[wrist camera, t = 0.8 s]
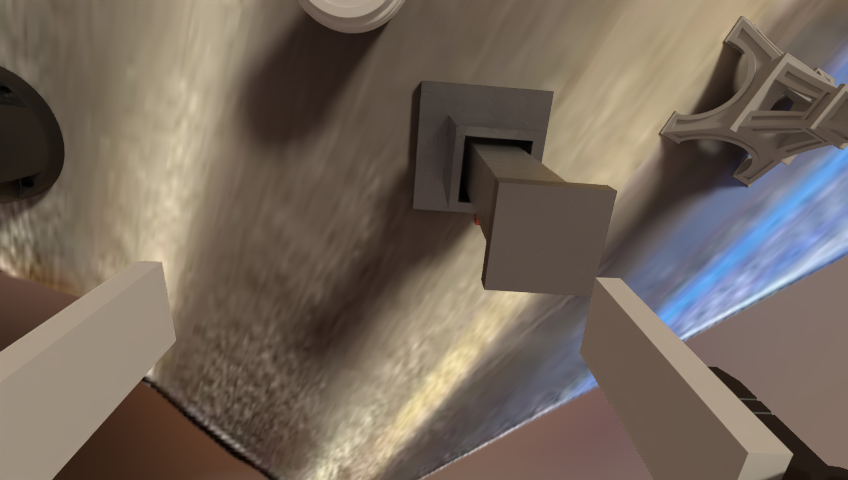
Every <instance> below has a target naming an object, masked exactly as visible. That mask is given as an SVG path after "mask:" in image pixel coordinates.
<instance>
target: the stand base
mask: <svg viewBox="0 0 848 480" xmlns="http://www.w3.org/2000/svg"><path fill="white" fill-rule="evenodd" d="M553 93H554V92H552V91H542V90H530V89H517V88H505V87H493V86H480V85H468V84H456V83H443V82H431V81H422V84H421V99H420V113H419V127H418V141H417V156H416V170H415V184H414V198H413V209H420V210H435V211H449V212H463V213H475V212H474V209H473V207H472V204H471V202H470V199H469V197H468V194H467V192H466V189H465V187H464V184H463V182H462V179H461V169H462V159H463V150H464V141H465V136H476V137H489V138H502V139H509V140H511V141H512V142H513V143H515V144H516V145H518V146H519V147H520V148H522V149H523V150H524V151H526V152H527V153H528V154H530V155H531V156H532V157H534V158H535V159H536V160H538V161H539V162H540V163H541V162H542V157H543V151H544V145H545V139H546V133H547V128H548V122H549V116H550V110H551V105H552V99H553ZM474 221H475V223H476V225H480V224H479V222H478V219H477V217H476V214H475V215H474Z"/></svg>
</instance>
